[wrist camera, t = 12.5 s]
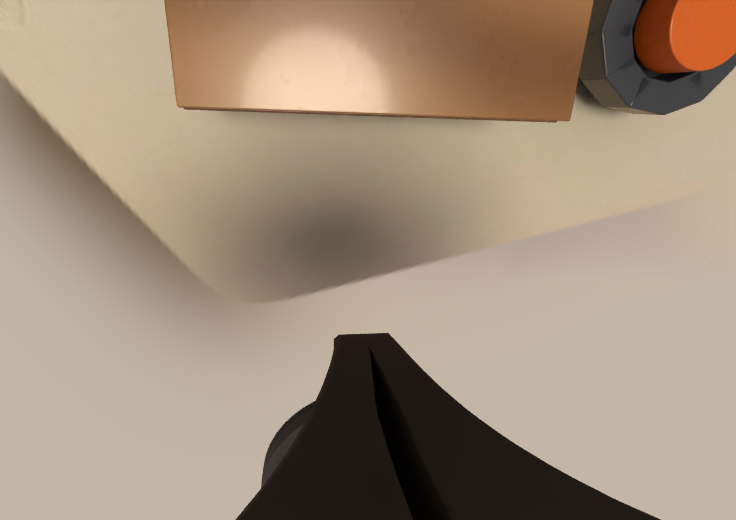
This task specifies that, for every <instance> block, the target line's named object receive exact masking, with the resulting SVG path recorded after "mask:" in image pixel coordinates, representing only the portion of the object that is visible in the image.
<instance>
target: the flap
mask: <svg viewBox="0 0 736 520" xmlns="http://www.w3.org/2000/svg"><path fill="white" fill-rule="evenodd" d="M164 1H165V9H166V18H167V26H168V35H169V43H170V51H171V60H172V68H173V77H174V85H175V94H176V102H177V107H183V108H211V109H240V110H268V111H296V112H324V113H352V114H380V115H408V116H436V117H464V118H493V119H521V120H549V121H570V118H571V113H572V108H573V103H574V98H575V93H576V88H577V82H578V77H579V72H580V67H581V62H582V57H583V52H584V47H585V42H586V37H587V32H588V27H589V21H590V16H591V11H592V6H593V1H594V0H164Z"/></svg>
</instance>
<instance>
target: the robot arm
mask: <svg viewBox="0 0 736 520" xmlns="http://www.w3.org/2000/svg"><path fill="white" fill-rule="evenodd" d="M236 520H660V519H658V518H656V517H654V516H651V515H649V514H647V513H644V512H642V511H640V510H637V509H635V508H633V507H631V506H629V505H627V504H624V503H622V502H620V501H618V500H616V499H613V498H611V497H609V496H607V495H605V494H603V493H602V492H600V491H598V490H596V489H594V488H592V487H590V486H588V485H586V484H584V483H582V482H580V481H578V480H576V479H574V478H572V477H571V476H569V475H567V474H565V473H563V472H561V471H560V470H558V469H556V468H554V467H552V466H551V465H549V464H547V463H546V462H544V461H542V460H540V459H539V458H537V457H536V456H534V455H532V454H531V453H529V452H527V451H526V450H524V449H523V448H521V447H519V446H518V445H516V444H515V443H513V442H512V441H510V440H508V439H507V438H505V437H504V436H502V435H501V434H500V433H498V432H497V431H495V430H494V429H492V428H491V427H490V426H488V425H487V424H486V423H484V422H483V421H482V420H480V419H479V418H477V417H476V416H475V415H473V414H472V413H471V412H470V411H468V410H467V409H466V408H464V407H463V406H462V405H461V404H460V403H458V402H457V401H456V400H455V399H454V398H453V397H451V396H450V395H449V394H448V393H447V392H446V391H444V390H443V389H442V388H441V387H440V386H439V385H438V384H437V383H436V382H434V380H433V379H432V378H431V377H430V376H429V375H427V373H426V372H424V371H423V370H422V368H421V367H420V366H419V365H418V364H417V363H416V362H415V361H414V360H413V359H412V358H411V357H410V356H409V355H408V354H407V353H406V352H405V351H404V350H403V348H402V347H401V346H400V345H399V344H398V343H397V342H396V341H395V340H394V339H393V338H392V337H391V336H390V334H389V333H377V334H347V335H338V336H337V337H336V338H335V339H334V351H333V356H332V360H331V363H330V367H329V369H328V372H327V375H326V378H325V380H324V383H323V386H322V388H321V391H320V393H319V395H318V397H317V399H316V401H315V403H314V405H313V407H312V409H311V411H310V414H309V415H308V417H307V419H306V421H305V423H304V425H303V427H302V428H301V430H300V432H299V433H298V435H297V437H296V438H295V440H294V442H293V443H292V445H291V447H290V448H289V450H288V451H287V453H286V454H285V456H284V457H283V459H282V460H281V462H280V463H279V464H278V466H277V467H276V469H275V470H274V472H273V473H272V475H271V476H270V477H269V479H268V480H267V481H266V483H265V484H264V485H263V487H262V488H261V490H260V491H259V492H258V493H257V495H256V496H255V497H254V498H253V499H252V501H251V502H250V503H249V504H248V505H247V506H246V508H245V509H244V510H243V511H242V513H241V514H240V515H239V516H238V517H237V519H236Z"/></svg>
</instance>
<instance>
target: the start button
mask: <svg viewBox="0 0 736 520" xmlns="http://www.w3.org/2000/svg"><path fill="white" fill-rule="evenodd" d="M634 46H635V51H636V54H637V56H638V58H639V60H640V62H641V63H642V64H643V65H644V66H645V67H646V68H647V69H649V70H651V71H653V72H656V73H680V72H695V71H705V70H709V69H713V68H715V67H717V66H719V65H721V64H723V63H724V62H726V61H727V60H728V59H730V58H731V57H732V56H733V55H734V54H735V53H736V0H647V1H646V3H645V4H644V6H643V7H642V9H641V11H640V13H639V16H638V18H637V22H636V25H635V30H634Z"/></svg>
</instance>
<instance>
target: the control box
mask: <svg viewBox="0 0 736 520" xmlns="http://www.w3.org/2000/svg"><path fill="white" fill-rule="evenodd" d="M646 1H647V0H594V1H593V6H592V11H591V16H590V21H589V27H588V32H587V37H586V42H585V47H584V52H583V57H582V62H581V67H580V72H579V76H580V79H581V81H582V82H583V83H584V84H585V86H586V87H587V94H588V98H596V99H597V100H598V102H599V103H600V104H601V105H602V106H603V107H606V108H611V109H615V110H619V111H624V112H628V113H633V114H650V115H666V114H668V113H671V112H674V111H676V110H679V109H682V108H684V107H687V106H690V105H692V104H695V103H698V102H700V101H702V100H703V99H704V98H705V97H706V96H707V95H708V94H709V93H710V92H711V91H712V90H713V89H714V88H715V87H716V86H717V85H718V84H719V83H720V82H721V81H722V80H723V79H724V78H725V77H726V76H727V75H728V74H729V73H730V72H731V71H732V70H733V69H734V68H735V66H736V53H735V54H734V55H733V56H732V57H731V58H730V59H728V60H727V61H726V62H724V63H723V64H721V65H719V66H717V67H715V68H713V69H709V70H705V71H695V72H680V73H656V72H653V71H651V70H649V69H647V68H646V67H645V66H644V65H643V64H642V63H641V62H640V60H639V58H638V56H637V54H636V51H635V46H634V30H635V25H636V22H637V18H638V16H639V13H640V11H641V9H642V7H643V6H644V4H645V3H646Z"/></svg>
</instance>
